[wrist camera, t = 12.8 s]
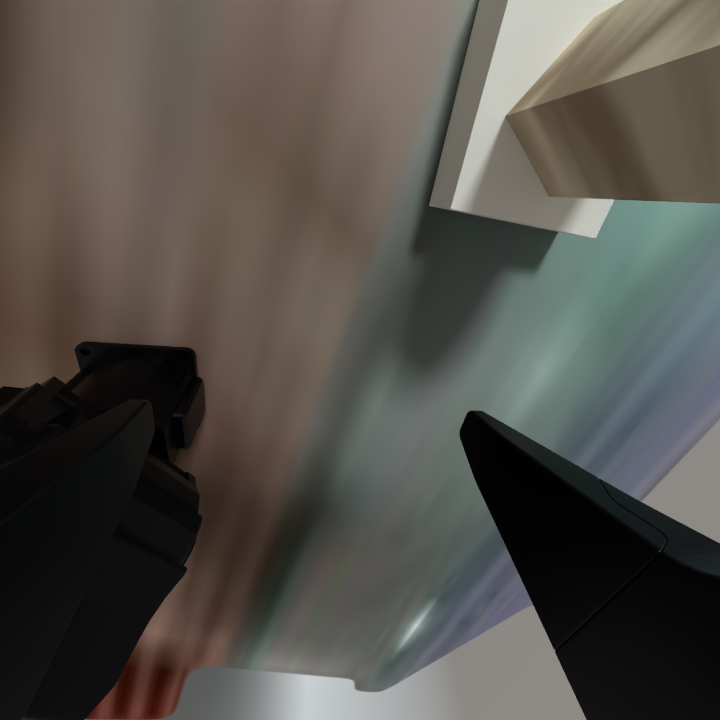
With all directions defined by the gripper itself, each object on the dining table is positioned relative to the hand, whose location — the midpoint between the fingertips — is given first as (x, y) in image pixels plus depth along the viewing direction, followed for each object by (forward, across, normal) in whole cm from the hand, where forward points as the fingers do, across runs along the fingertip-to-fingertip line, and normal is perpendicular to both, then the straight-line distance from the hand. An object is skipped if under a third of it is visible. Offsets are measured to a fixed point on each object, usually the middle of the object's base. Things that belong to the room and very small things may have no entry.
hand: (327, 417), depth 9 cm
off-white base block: (+13, -12, -11) cm, 21 cm away
